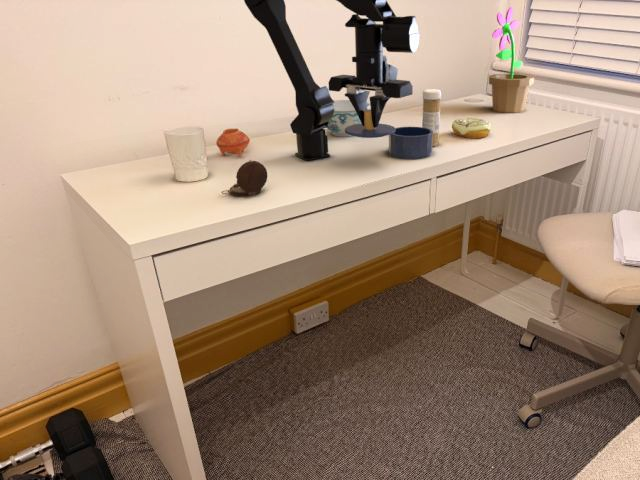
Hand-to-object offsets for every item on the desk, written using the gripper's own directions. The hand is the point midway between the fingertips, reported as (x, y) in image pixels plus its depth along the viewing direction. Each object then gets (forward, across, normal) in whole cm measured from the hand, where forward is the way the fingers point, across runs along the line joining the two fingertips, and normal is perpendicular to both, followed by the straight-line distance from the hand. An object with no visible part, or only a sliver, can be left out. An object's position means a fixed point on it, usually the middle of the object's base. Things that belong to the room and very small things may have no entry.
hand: (370, 126), depth 124 cm
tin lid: (+1, 0, 0) cm, 1 cm away
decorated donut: (+8, -7, -38) cm, 39 cm away
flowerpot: (+8, -3, -75) cm, 76 cm away
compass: (+9, +9, +32) cm, 34 cm away
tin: (+8, -3, -12) cm, 15 cm away
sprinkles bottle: (+8, -4, -22) cm, 24 cm away
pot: (+9, +32, +12) cm, 35 cm away
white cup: (+9, +26, +29) cm, 41 cm away
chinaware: (+9, +23, -20) cm, 32 cm away
